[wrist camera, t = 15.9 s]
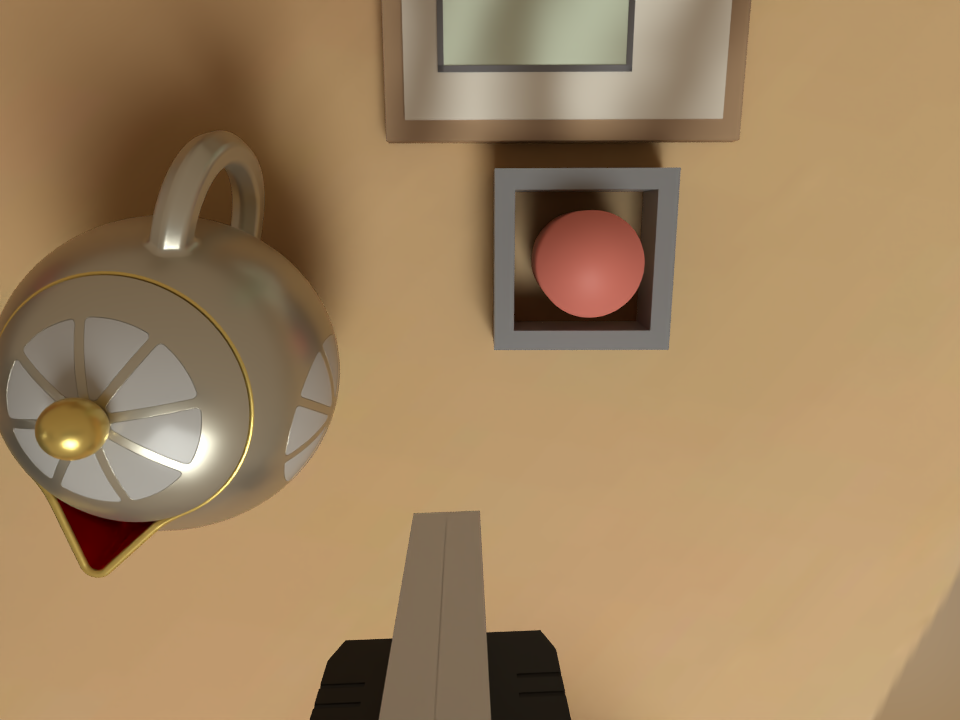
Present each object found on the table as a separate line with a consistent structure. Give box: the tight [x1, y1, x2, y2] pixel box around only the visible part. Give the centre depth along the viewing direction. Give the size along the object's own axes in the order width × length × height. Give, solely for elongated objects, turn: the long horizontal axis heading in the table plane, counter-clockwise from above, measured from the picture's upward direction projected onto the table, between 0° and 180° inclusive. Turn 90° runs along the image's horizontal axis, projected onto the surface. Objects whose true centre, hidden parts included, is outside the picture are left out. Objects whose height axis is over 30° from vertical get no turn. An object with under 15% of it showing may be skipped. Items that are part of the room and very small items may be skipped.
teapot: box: [0, 130, 340, 578], centre depth 27 cm, size 18×14×16 cm
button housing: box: [493, 168, 681, 350], centre depth 33 cm, size 9×9×3 cm
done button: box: [531, 210, 645, 318], centre depth 31 cm, size 5×5×4 cm
